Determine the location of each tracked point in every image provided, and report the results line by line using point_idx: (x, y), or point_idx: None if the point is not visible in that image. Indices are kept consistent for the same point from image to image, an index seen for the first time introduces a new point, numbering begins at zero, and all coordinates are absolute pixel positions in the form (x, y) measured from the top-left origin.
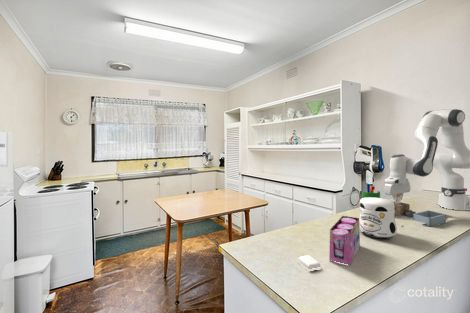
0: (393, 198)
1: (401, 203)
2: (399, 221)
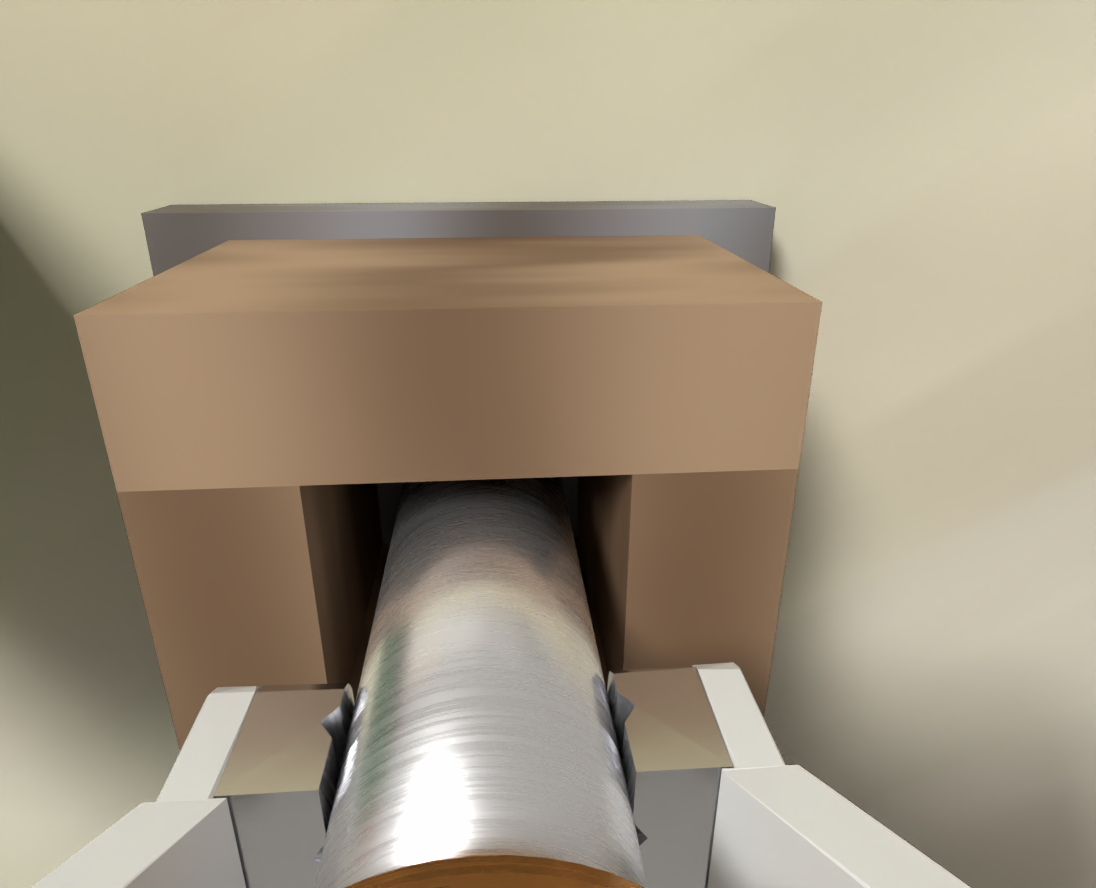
0: (173, 769)
1: (623, 659)
2: (50, 740)
